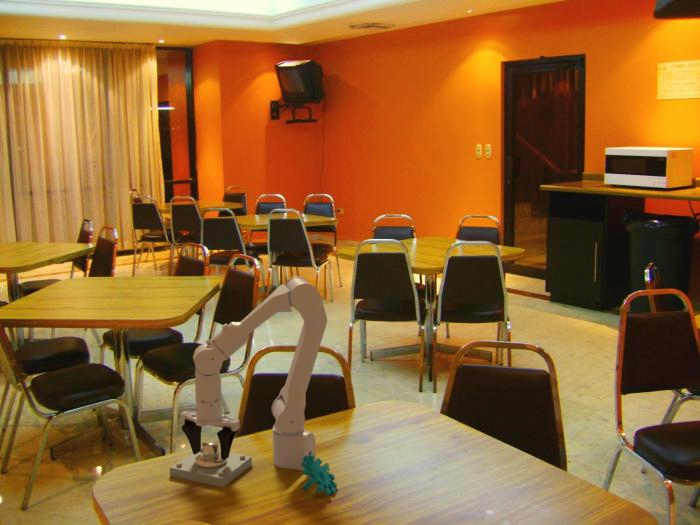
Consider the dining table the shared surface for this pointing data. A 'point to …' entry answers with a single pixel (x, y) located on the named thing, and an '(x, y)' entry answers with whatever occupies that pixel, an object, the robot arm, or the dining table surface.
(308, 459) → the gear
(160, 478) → the dining table surface
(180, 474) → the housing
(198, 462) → the end cap
